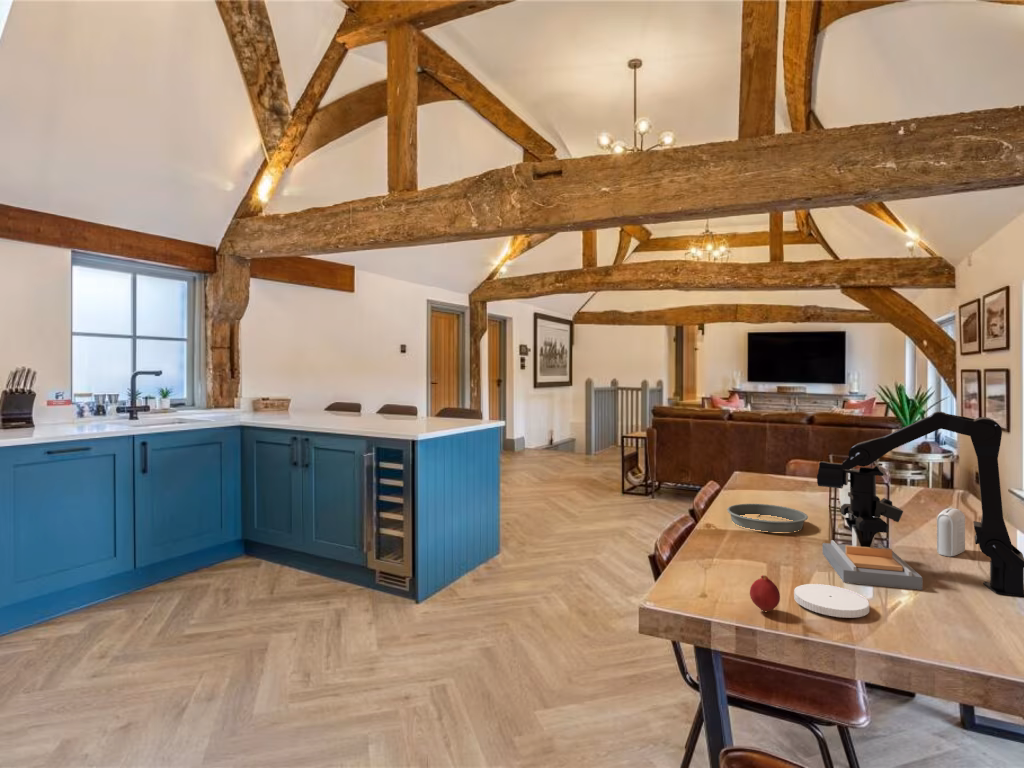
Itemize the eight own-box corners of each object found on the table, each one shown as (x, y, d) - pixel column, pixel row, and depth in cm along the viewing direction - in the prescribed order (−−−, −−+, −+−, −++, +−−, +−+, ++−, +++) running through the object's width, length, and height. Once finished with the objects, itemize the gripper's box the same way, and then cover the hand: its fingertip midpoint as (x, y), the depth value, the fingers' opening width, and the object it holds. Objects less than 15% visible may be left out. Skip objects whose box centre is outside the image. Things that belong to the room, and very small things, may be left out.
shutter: (902, 571, 128) (902, 559, 128) (854, 567, 131) (854, 555, 131) (890, 560, 136) (890, 548, 135) (845, 556, 139) (845, 545, 139)
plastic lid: (781, 596, 123) (781, 585, 123) (839, 593, 124) (839, 582, 124) (820, 624, 109) (820, 611, 109) (885, 621, 110) (885, 608, 110)
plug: (874, 560, 139) (874, 529, 138) (856, 559, 140) (856, 528, 140) (869, 555, 142) (869, 525, 142) (852, 554, 144) (852, 524, 144)
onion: (754, 603, 118) (754, 567, 118) (783, 610, 115) (782, 573, 114) (746, 612, 114) (746, 575, 114) (776, 620, 110) (775, 581, 110)
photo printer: (948, 547, 155) (948, 504, 154) (967, 551, 151) (967, 507, 151) (934, 554, 149) (934, 509, 149) (953, 558, 145) (953, 513, 145)
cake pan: (815, 538, 165) (815, 524, 165) (729, 532, 173) (729, 518, 173) (800, 518, 188) (800, 505, 188) (725, 513, 196) (725, 501, 196)
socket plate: (922, 590, 124) (922, 572, 124) (843, 582, 129) (843, 566, 129) (889, 559, 145) (889, 544, 145) (822, 553, 150) (822, 539, 150)
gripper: (913, 500, 129) (913, 564, 130) (886, 485, 147) (886, 542, 147) (859, 497, 133) (860, 560, 133) (840, 483, 151) (840, 538, 151)
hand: (863, 549), depth 141 cm, fingers closed on plug, 4 cm apart
